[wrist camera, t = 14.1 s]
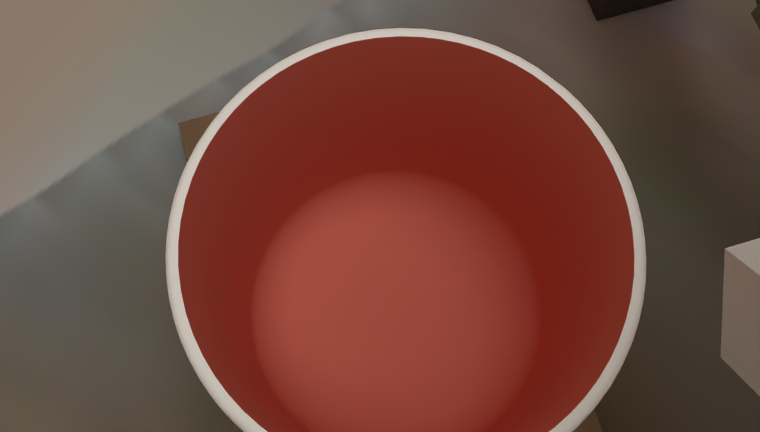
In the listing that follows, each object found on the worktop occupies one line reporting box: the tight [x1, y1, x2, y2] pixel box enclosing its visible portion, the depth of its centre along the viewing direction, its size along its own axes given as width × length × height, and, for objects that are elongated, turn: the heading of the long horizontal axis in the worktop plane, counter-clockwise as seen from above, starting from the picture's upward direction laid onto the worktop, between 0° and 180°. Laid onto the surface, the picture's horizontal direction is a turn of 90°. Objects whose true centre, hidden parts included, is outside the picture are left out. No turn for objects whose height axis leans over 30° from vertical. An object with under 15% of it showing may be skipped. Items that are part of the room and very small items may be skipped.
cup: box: [166, 28, 646, 432], centre depth 19 cm, size 10×10×10 cm
